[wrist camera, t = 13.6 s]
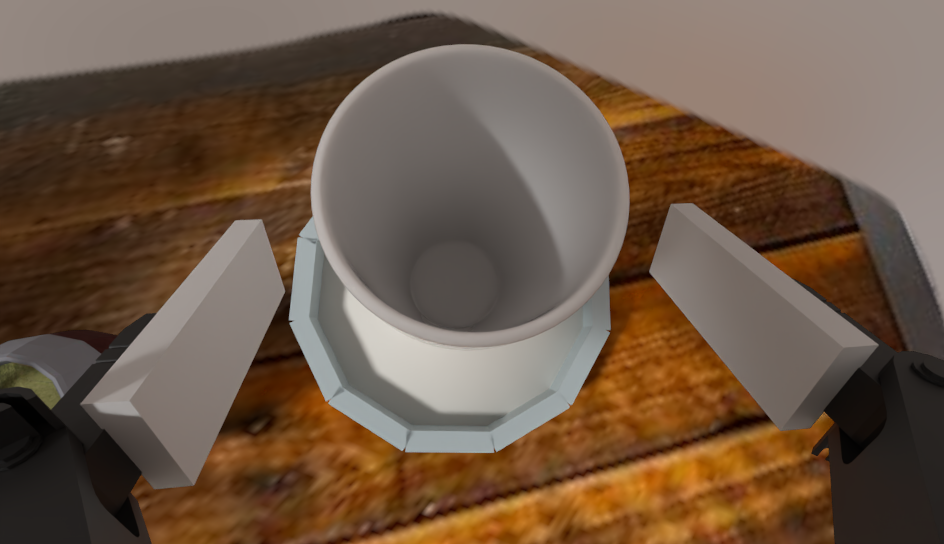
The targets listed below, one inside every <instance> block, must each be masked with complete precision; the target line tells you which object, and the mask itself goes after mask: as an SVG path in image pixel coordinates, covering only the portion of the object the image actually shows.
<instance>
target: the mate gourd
mask: <svg viewBox="0 0 944 544" xmlns="http://www.w3.org/2000/svg"><path fill="white" fill-rule="evenodd" d="M116 337H117V335H112V334H108V333H103V332H97V331H91V330H71V331H64V332H58V333H52V334H45V335H39V336H33V337H27V338H22V339H16V340H10V341H7V342H5V343H3V344H1V345H0V389H4V388H11V387H24V388H29V389H32V390H33V391H34V392H35V394H36V395H37V396H38V397H39V398H40V399H41V400H42V401H43V402H44V403H45V404H46V405H47V406H48V407H49V408H50V409H52V408H53V407H54V406H55V405H56V404H57V402H58V401H59V400H60V399H61V398H62V397H63V396H64V395H65V394H66V392H67V391H68V390H69V389H70V388H71V387H72V386H73V385H74V384H75V383H76V381H77V380H78V379H79V378H80V377H81V376H82V375H83V374H84V373H85V371H86V370H87V369H88V368H89V367H90V366H91V365H92V364H95V363H96V359H97V358H98V357H99V356H100V355H101V354H102V353H103V352H104V350H105V349H109V345H110V344H111V343H112V342H113V341H114V339H115V338H116Z"/></svg>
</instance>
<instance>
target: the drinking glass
mask: <svg viewBox="0 0 944 544" xmlns="http://www.w3.org/2000/svg"><path fill="white" fill-rule="evenodd" d="M311 205H312V213H313V219H314V224H315V228H316V232H317V235H318V238H319V241H320V244H321V246H322V249H323V251H324V253H325V256H326V258H327V259H328V261H329V263H330V265H331V267H332V269H333V270H334V272H335V273H336V275H337V276H338V278H339V279H340V280H341V282H342V283H343V285H344V286H345V287H346V288H347V289H348V290H349V292H350V293H351V294H352V295H353V296H354V297H355V298H356V299H357V300H358V301H359V302H360V303H361V304H362V305H363V306H364V307H365V308H367V309H368V310H369V311H371V312H372V313H373V314H374V315H375V316H377V317H378V318H379V319H380V320H382V321H383V322H384V323H386V324H387V325H388V326H390V327H391V328H393V329H395V330H396V331H398V332H400V333H401V334H403V335H405V336H407V337H409V338H411V339H413V340H416V341H418V342H421V343H424V344H427V345H430V346H434V347H438V348H442V349H449V350H459V351H476V350H486V349H493V348H498V347H502V346H506V345H510V344H513V343H516V342H519V341H523V340H526V339H528V338H531V337H534V336H536V335H539V334H541V333H543V332H545V331H547V330H549V329H551V328H553V327H555V326H556V325H558V324H560V323H561V322H563V321H565V320H566V319H567V318H569V317H570V316H571V315H573V314H574V313H575V312H577V311H578V310H579V309H580V308H581V307H582V306H583V305H584V304H585V303H586V302H587V301H588V300H589V299H590V298H591V297H592V296H593V295H594V294H595V293H596V291H597V290H598V289H599V288H600V287H601V285H602V284H603V282H604V281H605V279H606V278H607V276H608V275H609V273H610V271H611V269H612V268H613V266H614V264H615V262H616V260H617V257H618V255H619V252H620V250H621V248H622V244H623V241H624V237H625V234H626V229H627V224H628V218H629V205H630V199H629V183H628V175H627V171H626V166H625V162H624V158H623V155H622V152H621V149H620V147H619V144H618V142H617V140H616V137H615V135H614V133H613V131H612V130H611V128H610V126H609V124H608V122H607V121H606V119H605V118H604V116H603V115H602V113H601V112H600V111H599V109H598V108H597V107H596V106H595V104H594V103H593V102H592V101H591V100H590V98H589V97H588V96H587V95H586V94H585V93H584V92H583V91H582V90H581V89H580V88H579V87H577V86H576V85H575V84H574V83H573V82H571V81H570V80H569V79H568V78H566V77H565V76H563V75H562V74H561V73H559V72H558V71H556V70H555V69H553V68H551V67H549V66H548V65H546V64H544V63H542V62H540V61H538V60H536V59H534V58H531V57H529V56H526V55H523V54H521V53H518V52H515V51H511V50H507V49H504V48H498V47H493V46H486V45H476V44H457V45H445V46H439V47H432V48H428V49H424V50H420V51H417V52H414V53H411V54H408V55H405V56H403V57H401V58H399V59H396V60H394V61H392V62H390V63H388V64H387V65H385V66H383V67H381V68H380V69H378V70H377V71H375V72H374V73H372V74H371V75H370V76H368V77H367V78H366V79H364V80H363V81H362V82H361V83H360V84H359V85H358V86H356V87H355V88H354V89H353V90H352V91H351V93H350V94H349V95H348V96H347V97H346V98H345V99H344V100H343V102H342V103H341V104H340V106H339V107H338V108H337V109H336V111H335V113H334V114H333V116H332V117H331V119H330V121H329V122H328V124H327V126H326V128H325V130H324V132H323V135H322V137H321V140H320V142H319V145H318V148H317V151H316V155H315V159H314V163H313V170H312V177H311Z"/></svg>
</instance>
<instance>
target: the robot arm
mask: <svg viewBox="0 0 944 544" xmlns="http://www.w3.org/2000/svg"><path fill="white" fill-rule="evenodd" d="M649 272H650V274H651V275H652V276H653V277H654V278H655V280H656V281H657V282H658V283H659V284H660V286H661V287H662V288H663V289H664V291H665V292H666V293H667V294H668V295H669V297H670V298H671V299H672V300H673V301H674V303H675V304H676V305H677V306H678V307H679V309H680V310H681V311H682V312H683V313H684V315H685V316H686V317H687V318H688V320H689V321H690V322H691V323H692V324H693V326H694V327H695V328H696V329H697V330H698V332H699V333H700V334H701V335H702V336H703V338H704V339H705V340H706V341H707V343H708V344H709V345H710V346H711V347H712V349H713V350H714V351H715V352H716V353H717V355H718V356H719V357H720V358H721V359H722V361H723V362H724V363H725V364H726V366H727V367H728V368H729V369H730V370H731V372H732V373H733V374H734V375H735V376H736V378H737V379H738V380H739V381H740V382H741V384H742V385H743V386H744V387H745V389H746V390H747V391H748V392H749V393H750V395H751V396H752V397H753V398H754V399H755V401H756V402H757V403H758V404H759V405H760V407H761V408H762V409H763V410H764V412H765V413H766V414H767V415H768V416H769V418H770V419H771V420H772V421H773V422H774V424H775V425H776V426H777V427H778V428H779V430H780V431H784V430H795V429H805V428H811V427H812V425H813V424H814V423H815V422H816V421H817V419H818V418H819V417H820V416H821V414H822V413H823V412H825V413H826V414H827V415H828V416H829V417H830V418H831V419H832V420H833V421H834V422H835V423H834V424H833V425H832V427H831V428H830V429H829V430H828V431H827V432H826V433H825V435H824V436H823V437H822V438H821V439H820V440H819V441H818V443H817V444H816V445H815V446H814V447H813V450H812V453H811V454H814V455H816V456H818V455H819V453H820V452H821V451H822V450H823V449H824V448H829V455H828V457H827V458H826V459H825V460H827V461H829V462H830V476H831V492H832V508H833V523H834V539H835V544H944V361H943V360H941V359H938V358H935V357H933V356H930V355H927V354H922V353H918V352H914V351H901V352H899V353H897V352H896V351H895V350H893V349H892V348H891V347H889V346H888V345H887V344H885V343H884V342H883V341H881V340H880V339H879V338H877V337H876V336H875V335H873V334H872V333H871V332H869V331H868V330H867V329H865V328H864V327H863V326H861V325H860V324H859V323H857V322H856V321H855V320H853V319H852V318H851V317H849V316H848V315H847V314H845V313H841V310H840V309H838V308H837V307H836V306H834V305H833V304H832V303H830V302H827V301H826V299H825V298H824V297H822V296H821V295H820V294H818V293H817V292H816V291H814V290H813V289H812V288H810V287H809V286H807V285H805V284H803V283H801V282H799V281H797V280H794V279H792V278H790V277H789V276H788V275H786V274H785V273H784V272H782V271H781V270H780V269H778V268H777V267H776V266H774V265H773V264H772V263H771V262H769V261H768V260H767V259H765V258H764V257H763V256H761V255H760V254H759V253H757V252H756V251H755V250H753V249H752V248H751V247H749V246H748V245H747V244H746V243H744V242H743V241H742V240H740V239H739V238H738V237H736V236H735V235H734V234H732V233H731V232H730V231H728V230H727V229H726V228H724V227H723V226H722V225H721V224H719V223H718V222H717V221H715V220H714V219H713V218H711V217H710V216H709V215H707V214H706V213H705V212H703V211H702V210H701V209H699V208H698V207H697V206H696V205H694V204H693V203H684V204H671V205H670V208H669V211H668V214H667V217H666V221H665V224H664V227H663V230H662V233H661V236H660V239H659V242H658V246H657V249H656V252H655V255H654V258H653V261H652V264H651V268H650V271H649ZM284 293H285V289H284V286H283V283H282V280H281V277H280V274H279V271H278V268H277V265H276V262H275V259H274V255H273V252H272V249H271V246H270V243H269V240H268V237H267V234H266V231H265V228H264V225H263V222H262V220H236V221H235V222H234V223H233V224H232V225H231V226H230V227H229V229H228V230H227V231H226V232H225V233H224V235H223V236H222V237H221V238H220V239H219V241H218V242H217V243H216V244H215V245H214V246H213V248H212V249H211V250H210V251H209V252H208V254H207V255H206V256H205V257H204V258H203V259H202V261H201V262H200V263H199V264H198V265H197V267H196V268H195V269H194V270H193V271H192V272H191V274H190V275H189V276H188V277H187V278H186V280H185V281H184V282H183V283H182V284H181V285H180V287H179V288H178V289H177V290H176V291H175V293H174V294H173V295H172V296H171V297H170V298H169V300H168V301H167V302H166V303H165V304H164V306H163V307H162V308H161V309H160V310H159V311H158V313H152V314H145V315H144V316H142V317H141V318H139V319H138V320H136V321H135V322H134V323H132V324H131V325H129V326H128V327H126V328H125V329H123V331H122V332H121V333H120V334H119V335H118V336H117V337H116V338H115V339H114V341H113V342H112V343H111V344H110V345H109V349H105V350H104V352H103V353H102V354H101V355H100V356H99V357H98V358H97V359H96V363H95V364H92V365H91V366H90V367H89V368H88V369H87V370H86V371H85V373H84V374H83V375H82V376H81V377H80V378H79V379H78V380H77V381H76V383H75V384H74V385H73V386H72V387H71V388H70V389H69V390H68V391H67V392H66V394H65V395H64V396H63V397H62V398H61V399H60V400H59V401H58V402H57V404H56V405H55V406H54V407H53V408H52V409H50V408H49V407H48V406H47V405H46V404H45V403H44V402H43V401H42V400H41V399H40V398H39V397H38V396H37V395H36V394H35V392H34V391H33V390H32V389H29V388H24V387H11V388H4V389H0V544H151V541H150V537H149V534H148V531H147V528H146V525H145V522H144V519H143V516H142V513H141V510H140V507H139V504H138V501H137V500H136V499H135V497H134V496H133V495H132V494H131V493H130V492H131V490H132V489H133V487H134V485H135V484H136V482H137V480H138V479H139V477H140V475H141V474H142V475H143V477H144V478H145V479H146V480H147V481H148V482H149V483H150V485H151V486H152V487H153V488H154V489H162V488H172V487H183V486H194V484H195V482H196V480H197V478H198V476H199V474H200V471H201V469H202V467H203V465H204V463H205V461H206V459H207V457H208V454H209V452H210V450H211V448H212V446H213V444H214V442H215V440H216V437H217V435H218V433H219V431H220V429H221V427H222V425H223V423H224V420H225V418H226V416H227V414H228V412H229V410H230V408H231V406H232V403H233V401H234V399H235V397H236V395H237V393H238V391H239V389H240V386H241V384H242V382H243V380H244V378H245V376H246V374H247V372H248V369H249V367H250V365H251V363H252V361H253V359H254V357H255V355H256V352H257V350H258V348H259V346H260V344H261V342H262V340H263V338H264V335H265V333H266V331H267V329H268V327H269V325H270V323H271V321H272V319H273V316H274V314H275V312H276V310H277V308H278V306H279V304H280V302H281V299H282V297H283V295H284Z"/></svg>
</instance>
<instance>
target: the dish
mask: <svg viewBox="0 0 944 544" xmlns="http://www.w3.org/2000/svg"><path fill="white" fill-rule="evenodd" d="M299 235H300V236H301V237H302V238H298V240H297V250H296V259H295V268H294V277H293V286H292V295H291V304H290V313H289V320H290V321H293V322H291V323H289V324H290V326H291V328H292V330H293V332H294V334H295V337H296V339H297V341H298V343H299V345H300V347H301V349H302V351H303V354H304V356H305V358H306V360H307V362H308V364H309V366H310V368H311V370H312V373H313V375H314V377H315V379H316V381H317V383H318V385H319V387H320V390H321V392H322V394H323V396H324V398H325V400H326V401H328V400H330V399H331V400H330V401H329V403H328V404H330V405H331V406H333V407H334V408H336V409H337V410H339V411H340V412H342V413H344V414H345V415H347V416H348V417H350V418H351V419H353V420H355V421H356V422H358V423H359V424H361V425H362V426H364V427H365V428H367V429H369V430H370V431H372V432H373V433H375V434H376V435H378V436H380V437H381V438H383V439H384V440H386V441H387V442H389V443H391V444H392V445H394V446H395V447H397V448H398V449H400V450H401V451H403V450H404V448H405V446H406V451H405V452H459V453H494V448H495V450H496V452H497V451H499V450H501V449H502V448H504V447H506V446H507V445H509V444H510V443H512V442H514V441H515V440H517V439H519V438H520V437H522V436H524V435H525V434H527V433H529V432H530V431H532V430H534V429H535V428H537V427H539V426H540V425H542V424H543V423H545V422H547V421H548V420H550V419H552V418H553V417H555V416H557V415H558V414H560V413H562V412H563V411H565V410H567V409H568V408H570V407H569V405H568V404H570V405H572V404H573V402H574V400H575V398H576V396H577V395H578V393H579V391H580V389H581V387H582V385H583V383H584V381H585V379H586V377H587V376H588V374H589V372H590V370H591V368H592V366H593V364H594V362H595V360H596V358H597V357H598V355H599V353H600V351H601V349H602V347H603V345H604V343H605V341H606V340H607V338H608V336H609V334H610V332H608V331H607V330H611V324H610V297H609V275H608V276H607V278H606V279H605V281H604V282H603V284H602V285H601V287H600V288H599V289H598V290H597V291H596V293H595V294H594V295H593V296H592V297H591V298H590V299H589V300H588V301H587V302H586V303H585V304H584V305H583V306H582V307H581V308H580V309H579V310H578V311H577V312H575V313H574V314H573V315H571V316H570V317H569V318H567V319H566V320H565V321H563V322H561V323H560V324H558V325H556V326H555V327H553V328H551V329H549V330H547V331H545V332H543V333H541V334H539V335H536V336H534V337H531V338H528V339H526V340H523V341H519V342H516V343H513V344H510V345H506V346H502V347H498V348H493V349H486V350H476V351H459V350H449V349H442V348H438V347H434V346H430V345H427V344H424V343H421V342H418V341H416V340H413V339H411V338H409V337H407V336H405V335H403V334H401V333H400V332H398V331H396V330H395V329H393V328H391V327H390V326H388V325H387V324H386V323H384V322H383V321H382V320H380V319H379V318H378V317H377V316H375V315H374V314H373V313H372V312H371V311H369V310H368V309H367V308H365V307H364V306H363V305H362V304H361V303H360V302H359V301H358V300H357V299H356V298H355V297H354V296H353V295H352V294H351V293H350V292H349V290H348V289H347V288H346V287H345V286H344V285H343V283H342V282H341V280H340V279H339V278H338V276H337V275H336V273H335V272H334V270H333V269H332V267H331V265H330V263H329V261H328V259H327V258H326V256H325V253H324V251H323V249H322V246H321V244H320V241H319V238H318V235H317V232H316V228H315V224H314V219H313V217H312V218H311V219H310V221H309V222H308V223H307V225H306V226H305V227H304V229H303V230H302V231H301V233H300V234H299Z"/></svg>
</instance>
